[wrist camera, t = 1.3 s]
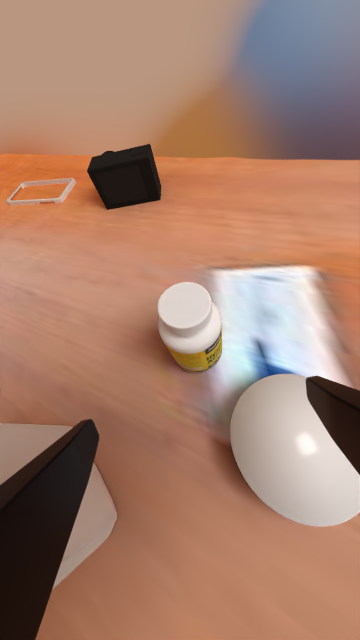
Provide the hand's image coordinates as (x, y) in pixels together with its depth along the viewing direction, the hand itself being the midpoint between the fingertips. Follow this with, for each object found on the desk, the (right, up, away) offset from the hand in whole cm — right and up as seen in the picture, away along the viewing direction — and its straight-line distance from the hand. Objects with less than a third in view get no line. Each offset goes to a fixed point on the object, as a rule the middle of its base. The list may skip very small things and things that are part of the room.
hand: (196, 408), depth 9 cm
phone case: (-31, +32, +40) cm, 60 cm away
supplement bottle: (+1, 0, +15) cm, 15 cm away
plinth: (+9, -7, +10) cm, 15 cm away
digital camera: (-9, +27, +32) cm, 43 cm away
